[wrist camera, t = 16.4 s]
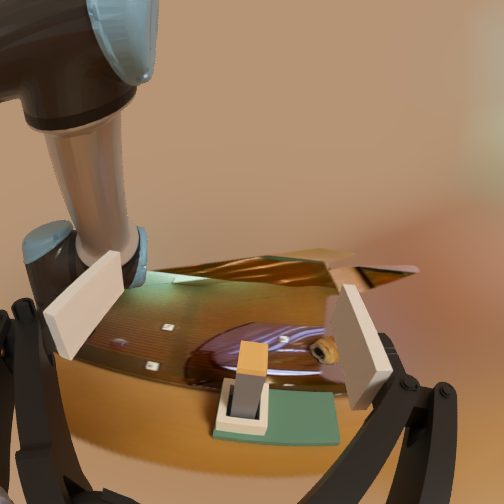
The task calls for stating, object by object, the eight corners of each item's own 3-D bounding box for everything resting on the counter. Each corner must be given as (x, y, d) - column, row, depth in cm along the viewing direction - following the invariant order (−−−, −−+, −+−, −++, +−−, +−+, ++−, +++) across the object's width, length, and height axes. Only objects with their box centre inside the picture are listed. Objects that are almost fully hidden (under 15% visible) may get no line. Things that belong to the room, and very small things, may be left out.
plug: (229, 422, 36) (237, 367, 30) (233, 398, 41) (241, 340, 35) (252, 425, 36) (267, 371, 30) (254, 401, 41) (268, 344, 35)
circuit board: (212, 438, 34) (212, 435, 33) (222, 386, 44) (222, 383, 44) (337, 445, 34) (340, 442, 33) (330, 396, 44) (332, 392, 43)
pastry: (336, 338, 60) (341, 325, 59) (354, 355, 55) (360, 343, 53) (306, 350, 56) (310, 337, 54) (324, 370, 50) (330, 358, 49)
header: (215, 429, 34) (216, 421, 33) (223, 388, 43) (224, 377, 41) (264, 435, 34) (267, 427, 33) (266, 393, 42) (268, 383, 41)
